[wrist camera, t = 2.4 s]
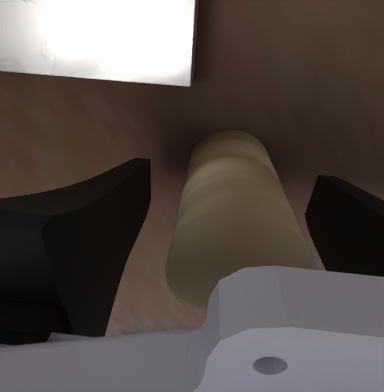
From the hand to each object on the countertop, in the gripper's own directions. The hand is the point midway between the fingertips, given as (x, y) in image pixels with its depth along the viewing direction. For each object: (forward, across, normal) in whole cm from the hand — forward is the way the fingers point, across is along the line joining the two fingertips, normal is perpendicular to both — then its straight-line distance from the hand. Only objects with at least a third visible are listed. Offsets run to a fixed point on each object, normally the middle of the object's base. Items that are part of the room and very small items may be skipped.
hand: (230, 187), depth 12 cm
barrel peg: (+2, 0, 0) cm, 2 cm away
